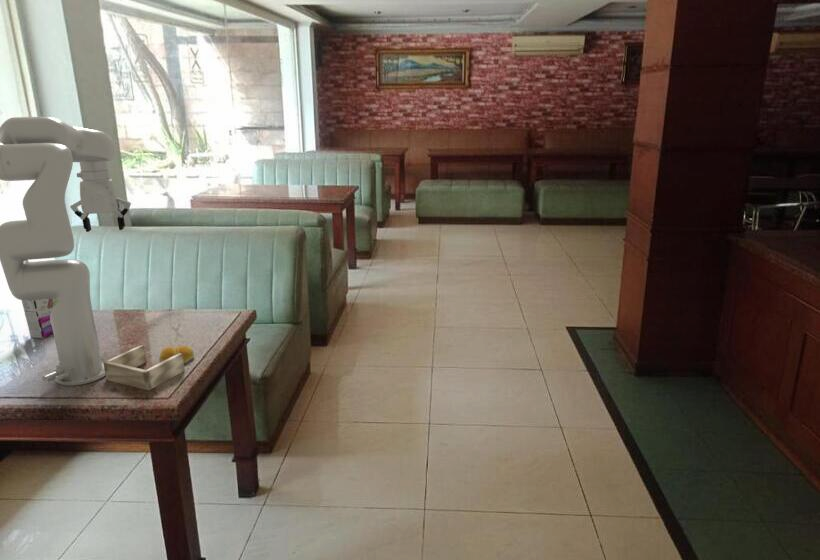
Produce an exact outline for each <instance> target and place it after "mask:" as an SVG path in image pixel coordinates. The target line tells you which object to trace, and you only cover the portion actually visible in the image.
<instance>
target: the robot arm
mask: <svg viewBox="0 0 820 560" xmlns="http://www.w3.org/2000/svg"><path fill="white" fill-rule="evenodd" d="M116 155H117V146H116V143H115V141H114V139H113V137H111V136H110V135H109V134H108V133H106V132H104V131H101V130H96V129H89V128H84V127H78V126H72V125H70V124H68V123H66V122H64V121H63V120H61V119H58V118H57V117H56V118H55V117H53V116H52V117H51V116H20V117H19V116H18V117H15V116H13V117H10V118H8V119H6V120H5V121H4V122H3V123H2V124H1V125H0V180H1V181H5V182H14V181H15V182H16V181H17V182H18V181H19V182H20V181H33V183H32V184H31V185H30V187H29V188H28V189H27V190H26V192H25V194H24V196H23V199H22V207H23V210H24V215H25V218H26V219H25V220H22V219H21V220H10V221H6V222H4V223H1V224H0V264H1V267H2V270H3V273H4V277H5V280H6V283H7V285H8V289H9V291H10V293H11V294H12V296H13V297H14V298H15V299H16V300H20V301H22V300H39V299H58V303H57V304H56V305H55V307H54V308H53V310H52V311H51V315H50V320H51V325H52V329H53V334H52V335H53V338H54V342H55V346H56V347H55V348H56V351H57V357H58V362H59V363H58V364H56V365H55V368H56V369H54V370H53V372H49V373H46V374H45V375H43V376H42V380H43V382H44V383H50V382H52V381H55V382H56V383H58V384H59V385H61V386H81V385H85V384H90V383H93V382H96V381H98V380H100V379H103V378H104V377H106V374H105V368H104V363H103V362H104V361H103V360H102V354H101V349H100V344H99V339H98V334H97V329H96V324H95V319H94V317H95V316H94V313H93V306H92V299H91V279H90V278H91V277H90V276H91V273H90V269H89V268H88V266H87V264H85V262H83V261H81V260H77V259H69V258H68V259H66V258H65V259H55V258H62V257H66V256H69V255H70V254H71V253H72V252H73V251H74V250H75V240H74V235H73V230H72V226H71V222H70V219H69V215H68V210H67V206H66V201H65V200H66V199H65V198H66V191H67V187H68V183H69V181H70V177H71V174H72V170H73V164H74V163H79V167H80V172H77V173H76V177H77V178H80V179H81V181H80V182H79V197H80V199H79V200H78V201H77V202H75V203H73V204H72V205H70V207H69V208H70V209H71V210H72V211H73V213H74V214H75V215H76V216H77V217H79V218H80V219H81V221H82V225H83V229H84V230H85V232H87V233H89V232H90V231H92V225H91V220H90V218H89V217H88V216H89V215H92V214H93V215H94V214H109V213H110V214H111V213H114V214H115V215H116V216H117V224H118V225H117V226H118V230H119V231H123V230H124V229H125V227H126V223H125V217H124V216H125V215H126V214H127V213H128V212H129V211H130V207H131V205H132V204H131V203H132V202H131V201H128V200H125V199H123V198H120V197H119V196H118V192H117V189H116V186H115V184H114V183H115V182H114V181H113V179H111V178H110V177H111V176H110V171H109V166H108V162H110V161H112V160H114V159H115V158H116ZM120 204H122V205H123V206H124V208H123V209H121V208H120ZM78 207H81V211H80V209H79V208H78ZM42 259H51V260H42ZM30 260H38V261H30Z"/></svg>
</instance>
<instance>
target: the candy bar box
mask: <svg viewBox="0 0 820 560" xmlns="http://www.w3.org/2000/svg"><path fill="white" fill-rule="evenodd" d="M57 303H58V299H39V300H21V304H22V308H23V312H24V315H25V319H26V324H27V327H28V332H29V336H30V338H31V339H46V338H47V337H50V336H51V335H54V334H53V329H52V325H51V320H50V315H51V311H52V310H53V308H54V307H55V305H56V304H57Z"/></svg>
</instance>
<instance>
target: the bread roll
mask: <svg viewBox="0 0 820 560" xmlns="http://www.w3.org/2000/svg"><path fill="white" fill-rule="evenodd" d="M178 353H182V356H183V363H184V364H186V363H188V362H190V361H191V360H192V359H194V358H195V357H194V356H195V351H194V350H193V348H192V347H190V346H188V345H179V346H177V347H173V346H166V347H164V348H163V349H162V350H161V352H160V353H159V357H158V358H159V363H161V362H163V361H165V360H167V359H169V358H171V357H173V356H174V355H176V354H178Z"/></svg>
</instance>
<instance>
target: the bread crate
mask: <svg viewBox="0 0 820 560" xmlns="http://www.w3.org/2000/svg"><path fill="white" fill-rule="evenodd" d="M102 362H103V363H104V368H105V374H106V375H105V378H106V381H110V382H113V383H117V384H121V385H126V386H130V387H134V388H137V389H140V390H141V389H142V390H146V391H150V390H152V389H154V388H156V387H158V386H160V385H162V384H163V383H165V382H167V381H168V380H171V379H172V378H174V377H175V376H178V375H181V374H182V373H183V372H185V370H186V369H185V363H183V356H182V353H178V354H176V355H174V356H173V357H171V358H169V359H167V360H165V361H163V362H161V363H160V362H159V363H157V364H155V365H153V366H151V367H149V368H148V369H143V368H138V367H139V366H142V365H143V364H146V363H147V356H146V350H145V345H143V344H140V345H138V346H136V347H134V348H131V349H130V350H129V349H128V350H127V351H124V352H123V353H121V354H119V355H116V356H114V357H112V358H110V359H108V360H105V361H102Z"/></svg>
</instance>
